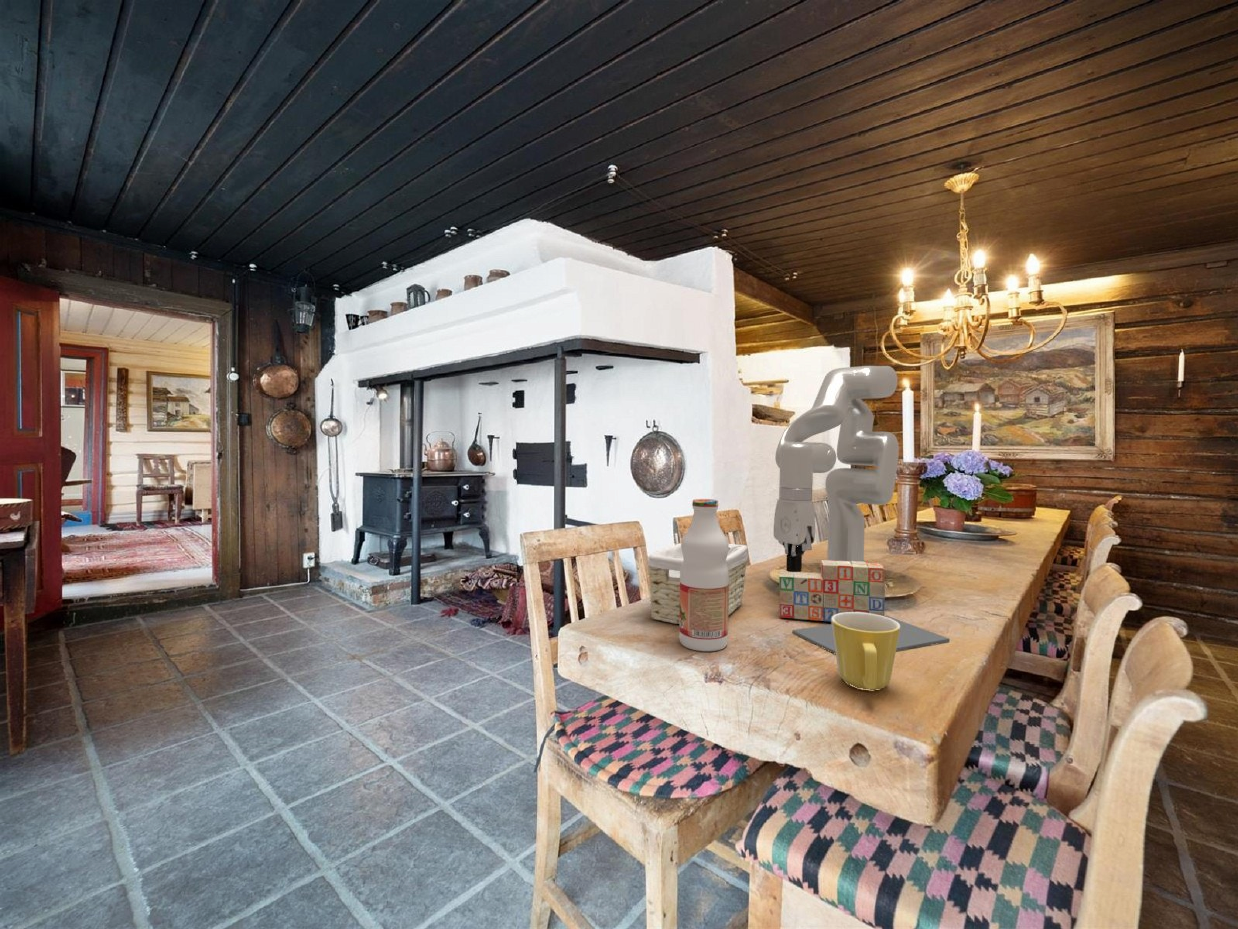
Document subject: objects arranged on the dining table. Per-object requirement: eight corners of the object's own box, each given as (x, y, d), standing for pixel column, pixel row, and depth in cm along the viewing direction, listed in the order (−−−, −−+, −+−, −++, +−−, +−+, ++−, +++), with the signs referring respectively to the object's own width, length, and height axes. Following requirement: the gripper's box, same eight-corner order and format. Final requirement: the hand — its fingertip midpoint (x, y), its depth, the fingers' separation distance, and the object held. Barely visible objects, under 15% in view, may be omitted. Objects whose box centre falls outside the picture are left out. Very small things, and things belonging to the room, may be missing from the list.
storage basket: (687, 595, 142) (688, 537, 141) (750, 605, 134) (751, 544, 133) (643, 621, 121) (644, 554, 120) (714, 635, 113) (715, 563, 112)
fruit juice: (708, 656, 101) (710, 504, 100) (669, 642, 108) (670, 499, 107) (737, 643, 108) (740, 500, 107) (699, 631, 115) (700, 496, 113)
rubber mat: (792, 633, 114) (792, 630, 114) (887, 618, 124) (887, 615, 124) (846, 660, 100) (847, 657, 100) (949, 641, 110) (949, 638, 110)
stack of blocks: (778, 618, 123) (778, 562, 123) (779, 611, 129) (779, 557, 129) (885, 626, 116) (884, 567, 116) (881, 618, 122) (880, 562, 122)
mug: (834, 666, 98) (836, 607, 97) (899, 679, 93) (901, 617, 92) (821, 698, 86) (822, 631, 85) (895, 714, 81) (897, 643, 80)
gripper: (763, 492, 138) (761, 566, 139) (803, 499, 124) (802, 580, 125) (788, 491, 141) (786, 563, 141) (830, 497, 127) (828, 577, 128)
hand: (793, 571), depth 133 cm, fingers closed
